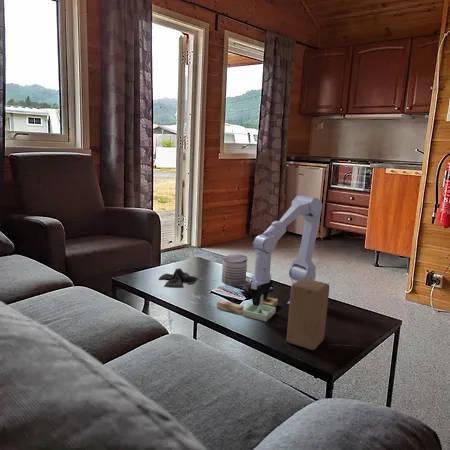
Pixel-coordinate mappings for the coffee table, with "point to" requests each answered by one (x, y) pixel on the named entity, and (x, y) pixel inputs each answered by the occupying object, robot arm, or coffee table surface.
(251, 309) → the tray
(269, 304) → the pin socket
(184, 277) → the cloth
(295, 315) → the wooden block
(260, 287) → the robot arm
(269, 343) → the coffee table surface
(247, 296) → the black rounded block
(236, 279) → the can
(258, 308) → the pin
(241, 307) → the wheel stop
